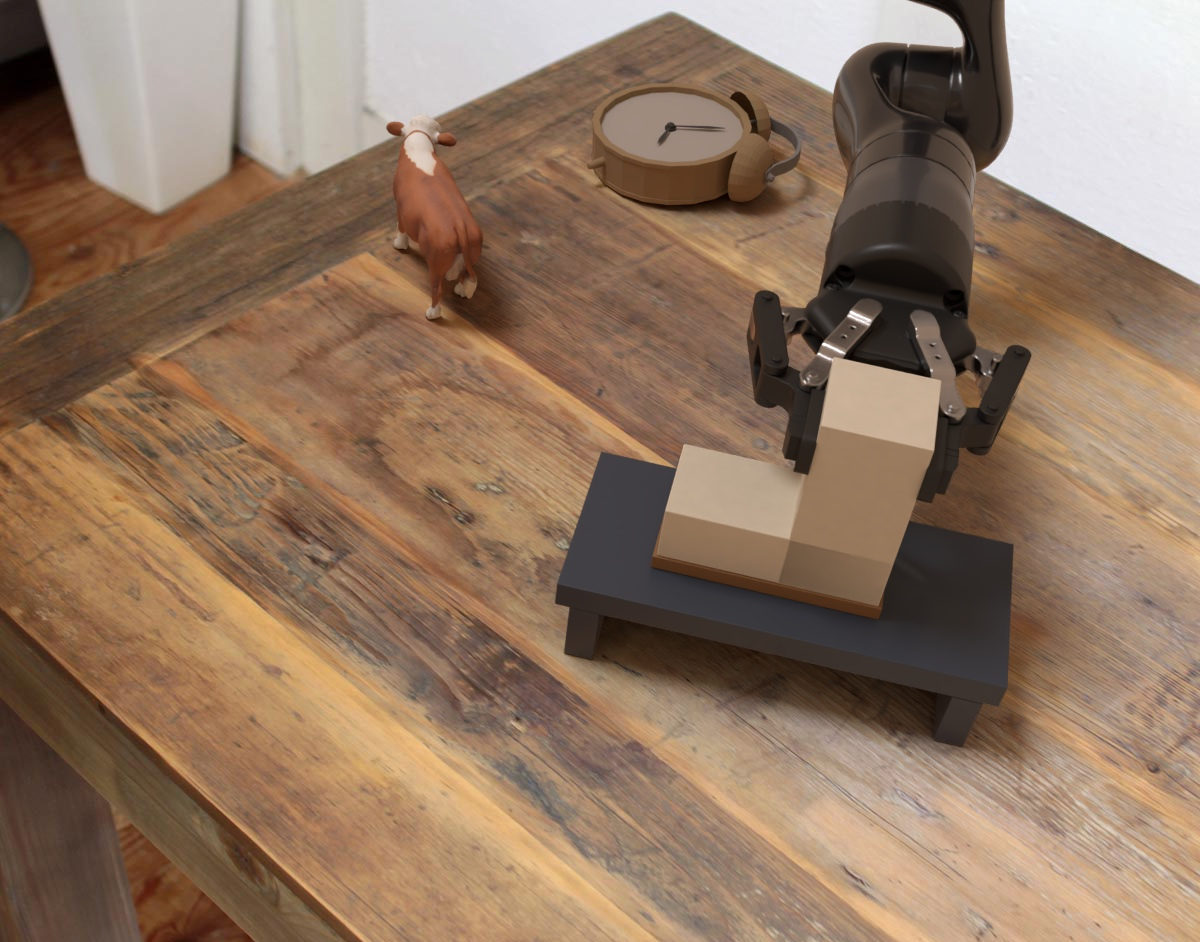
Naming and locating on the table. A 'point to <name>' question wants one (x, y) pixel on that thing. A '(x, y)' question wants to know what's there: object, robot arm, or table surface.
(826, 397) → the boot
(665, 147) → the alarm clock
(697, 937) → the table surface
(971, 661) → the dark grey low platform
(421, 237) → the bull figurine
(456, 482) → the table surface
